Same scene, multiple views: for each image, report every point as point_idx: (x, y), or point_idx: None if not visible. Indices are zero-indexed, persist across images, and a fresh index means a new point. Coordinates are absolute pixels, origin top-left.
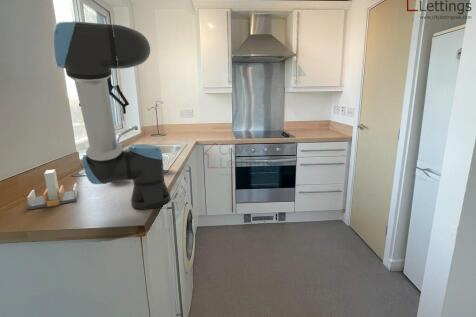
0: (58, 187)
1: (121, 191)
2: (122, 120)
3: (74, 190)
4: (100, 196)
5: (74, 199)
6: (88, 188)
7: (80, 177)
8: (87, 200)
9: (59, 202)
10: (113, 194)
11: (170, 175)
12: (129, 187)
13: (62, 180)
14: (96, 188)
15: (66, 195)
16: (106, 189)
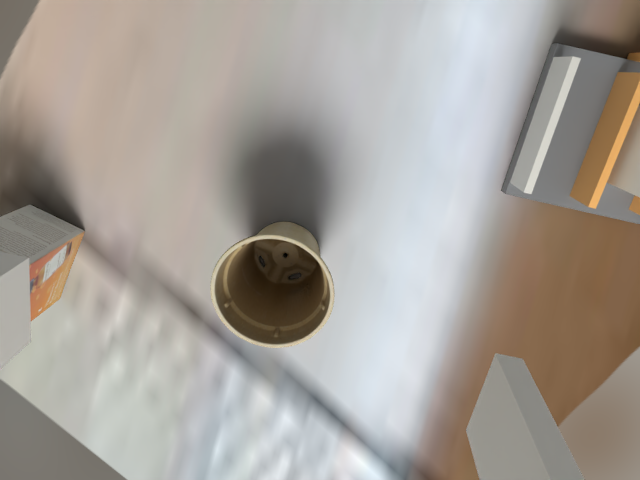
0: (618, 178)
1: (327, 26)
2: (22, 278)
3: (572, 57)
4: (439, 26)
5: (564, 45)
6: (443, 222)
7: (416, 445)
8: (509, 10)
9: (629, 60)
10: (376, 5)
11: (4, 116)
12: (270, 67)
13: None
14: (412, 190)
15: (576, 137)
16: (378, 130)
